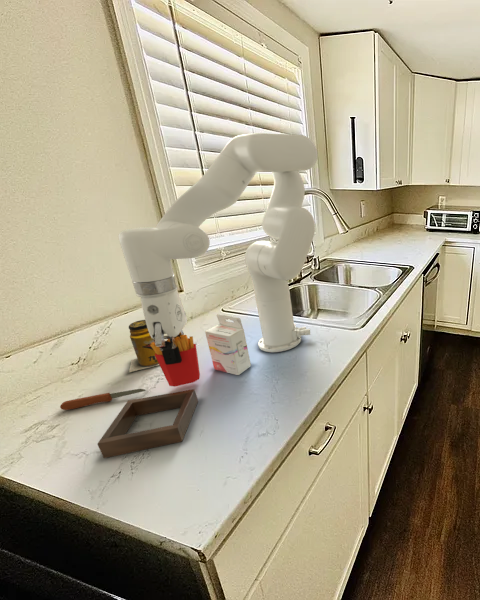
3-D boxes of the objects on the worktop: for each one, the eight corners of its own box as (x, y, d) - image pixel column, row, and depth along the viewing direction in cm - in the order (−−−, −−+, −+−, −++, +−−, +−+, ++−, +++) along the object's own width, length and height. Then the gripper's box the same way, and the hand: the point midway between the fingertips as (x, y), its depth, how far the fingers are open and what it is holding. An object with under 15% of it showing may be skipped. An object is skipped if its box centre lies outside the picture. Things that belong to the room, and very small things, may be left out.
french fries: (204, 372, 83) (193, 330, 79) (202, 380, 80) (191, 337, 76) (165, 380, 80) (151, 337, 76) (161, 389, 77) (147, 345, 72)
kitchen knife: (61, 412, 72) (58, 404, 72) (64, 408, 73) (61, 401, 73) (146, 395, 78) (143, 388, 77) (147, 391, 79) (145, 384, 78)
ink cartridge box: (213, 370, 87) (200, 320, 82) (227, 360, 92) (216, 313, 86) (238, 376, 85) (227, 325, 79) (252, 366, 89) (242, 317, 84)
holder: (198, 401, 75) (194, 388, 74) (182, 441, 64) (177, 427, 63) (132, 413, 72) (127, 400, 70) (103, 458, 60) (97, 443, 59)
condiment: (167, 363, 91) (155, 324, 86) (128, 373, 86) (114, 332, 82) (167, 352, 96) (156, 315, 92) (131, 360, 92) (117, 322, 88)
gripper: (162, 296, 65) (185, 374, 71) (186, 273, 80) (203, 339, 86) (117, 300, 63) (145, 380, 69) (150, 276, 78) (170, 344, 84)
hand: (177, 357), depth 78 cm, fingers closed on french fries, 4 cm apart
